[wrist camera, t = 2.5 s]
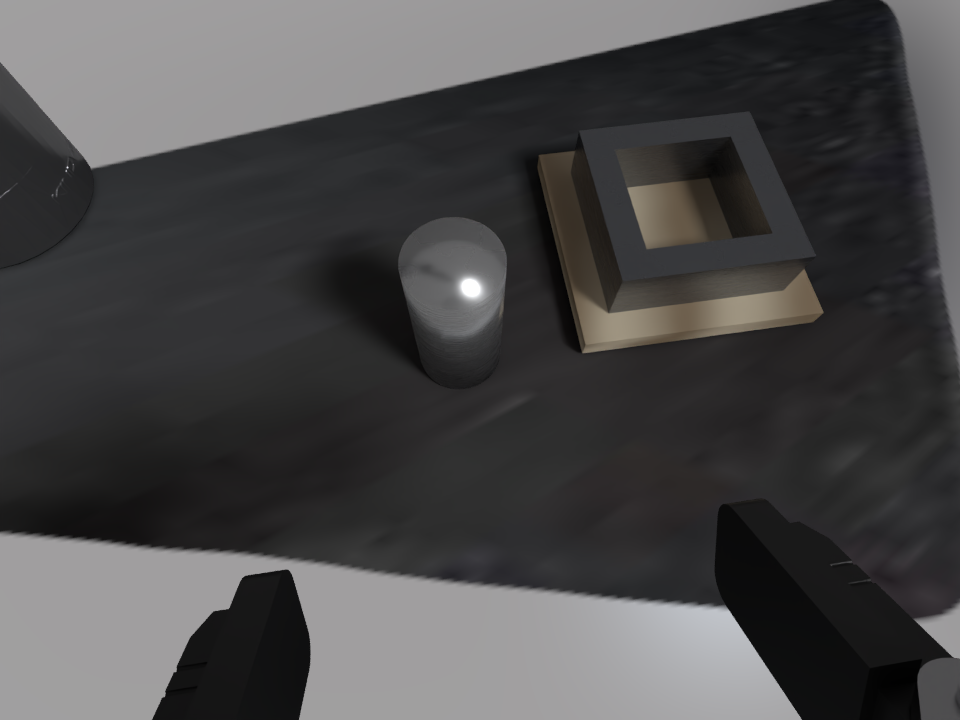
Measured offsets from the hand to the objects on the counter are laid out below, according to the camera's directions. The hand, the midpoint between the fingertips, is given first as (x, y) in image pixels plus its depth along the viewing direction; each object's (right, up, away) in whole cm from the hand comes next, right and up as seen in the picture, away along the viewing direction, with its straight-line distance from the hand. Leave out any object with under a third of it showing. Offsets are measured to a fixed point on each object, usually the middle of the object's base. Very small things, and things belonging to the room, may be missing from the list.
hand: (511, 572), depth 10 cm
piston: (-2, +4, +18) cm, 18 cm away
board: (+10, +11, +20) cm, 25 cm away
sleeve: (+10, +11, +19) cm, 24 cm away
